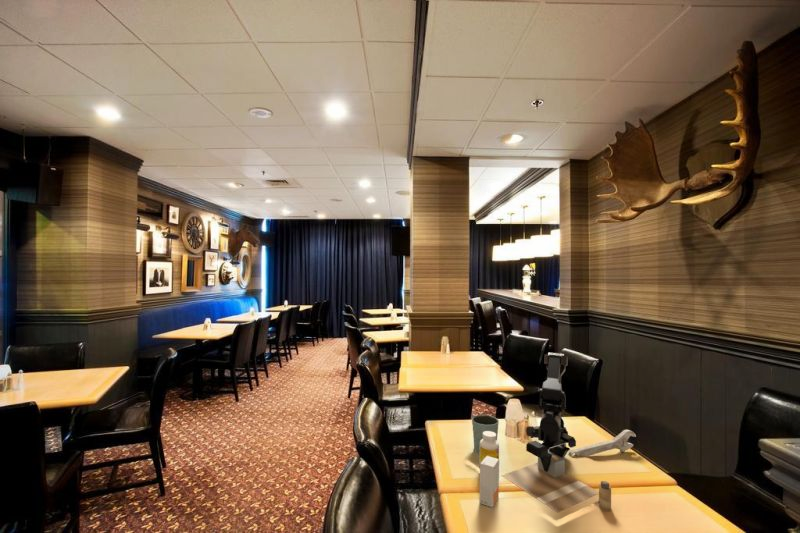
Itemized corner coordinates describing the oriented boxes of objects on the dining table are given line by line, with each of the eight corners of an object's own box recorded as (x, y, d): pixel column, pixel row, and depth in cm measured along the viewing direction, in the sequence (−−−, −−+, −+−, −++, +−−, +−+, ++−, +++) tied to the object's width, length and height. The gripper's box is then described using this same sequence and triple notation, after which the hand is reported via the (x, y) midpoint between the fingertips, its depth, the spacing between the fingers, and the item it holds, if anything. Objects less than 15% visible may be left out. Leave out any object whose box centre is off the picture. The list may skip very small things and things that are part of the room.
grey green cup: (501, 448, 148) (502, 418, 148) (493, 459, 139) (493, 426, 139) (477, 442, 153) (477, 412, 153) (467, 452, 145) (467, 420, 145)
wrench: (569, 465, 141) (633, 447, 149) (572, 468, 140) (637, 450, 147) (567, 444, 141) (631, 427, 149) (570, 446, 139) (635, 429, 147)
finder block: (547, 464, 133) (547, 449, 133) (564, 474, 127) (564, 458, 127) (537, 468, 131) (537, 452, 131) (554, 477, 125) (554, 461, 125)
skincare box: (492, 508, 110) (493, 467, 111) (479, 503, 113) (479, 463, 113) (499, 497, 116) (499, 458, 116) (485, 493, 118) (486, 455, 118)
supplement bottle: (499, 476, 127) (499, 438, 128) (479, 474, 129) (479, 436, 129) (498, 466, 134) (498, 430, 134) (479, 464, 135) (479, 428, 136)
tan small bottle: (602, 502, 114) (603, 479, 114) (613, 508, 111) (613, 484, 111) (596, 506, 112) (596, 481, 112) (606, 512, 109) (607, 487, 109)
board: (542, 464, 136) (542, 461, 136) (600, 496, 117) (600, 492, 117) (501, 478, 126) (501, 475, 126) (557, 516, 107) (557, 512, 107)
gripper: (550, 411, 141) (550, 453, 141) (514, 420, 132) (513, 465, 132) (577, 422, 131) (576, 467, 131) (540, 432, 122) (539, 480, 122)
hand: (551, 469), depth 129 cm, fingers closed on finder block, 5 cm apart
